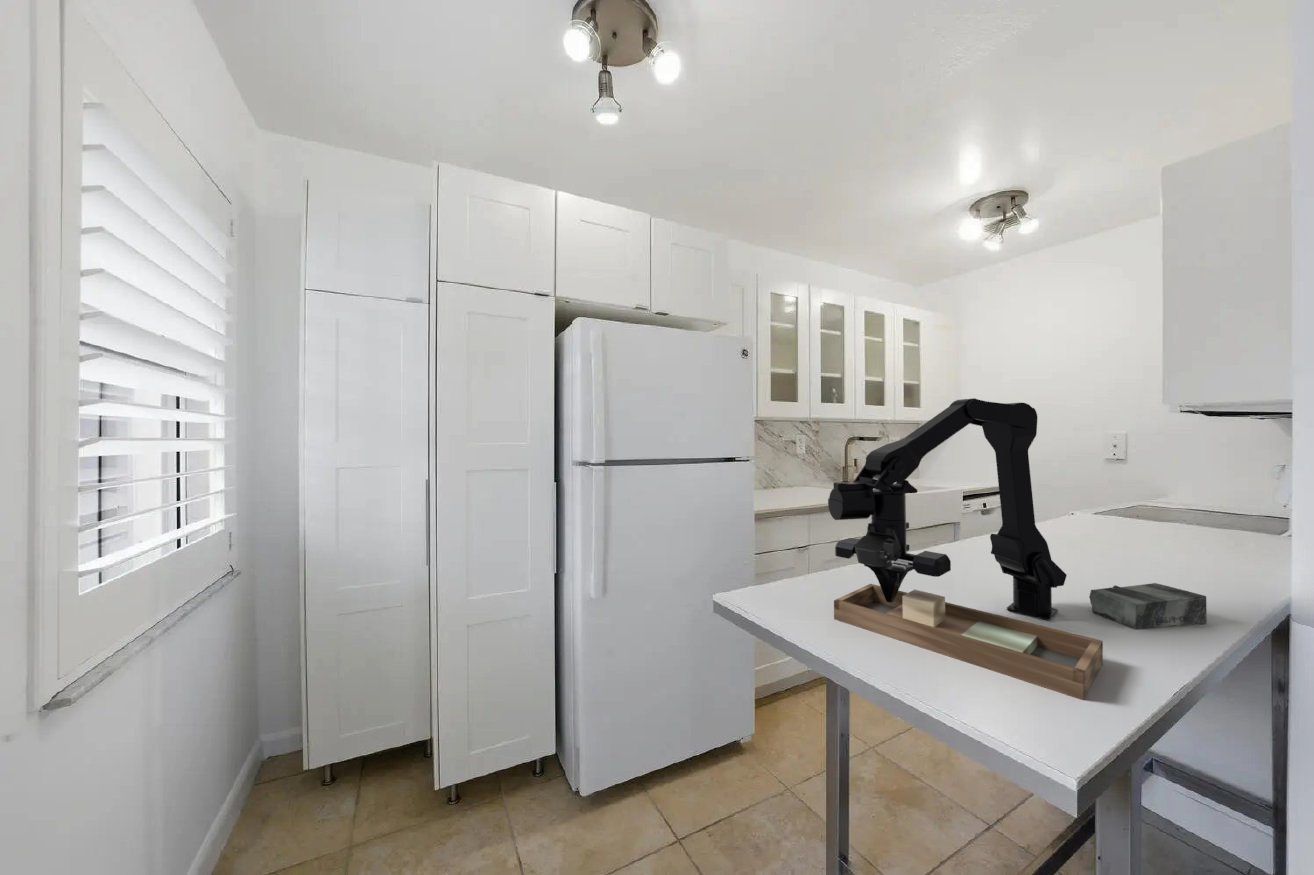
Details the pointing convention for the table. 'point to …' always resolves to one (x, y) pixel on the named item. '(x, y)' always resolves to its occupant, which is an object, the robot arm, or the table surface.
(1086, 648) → the tray
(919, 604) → the beech block
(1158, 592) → the stone block
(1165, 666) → the table surface
